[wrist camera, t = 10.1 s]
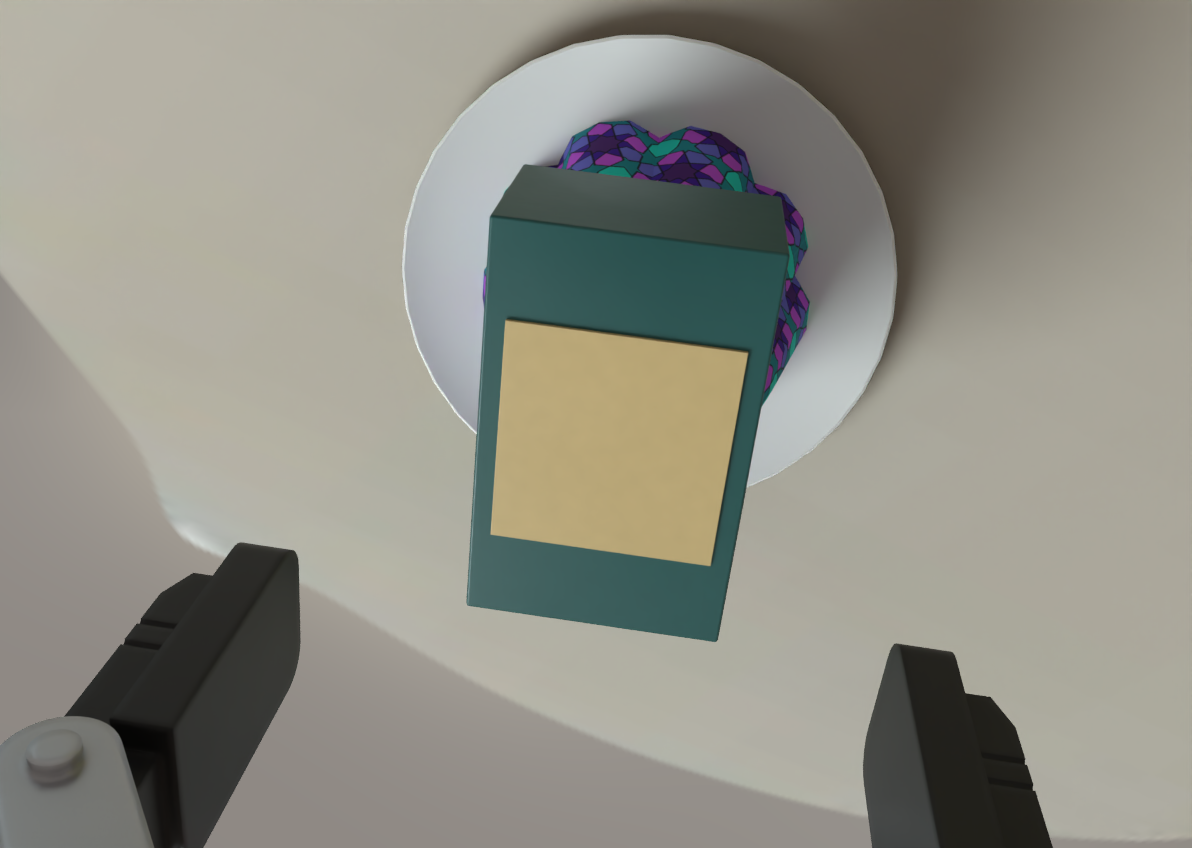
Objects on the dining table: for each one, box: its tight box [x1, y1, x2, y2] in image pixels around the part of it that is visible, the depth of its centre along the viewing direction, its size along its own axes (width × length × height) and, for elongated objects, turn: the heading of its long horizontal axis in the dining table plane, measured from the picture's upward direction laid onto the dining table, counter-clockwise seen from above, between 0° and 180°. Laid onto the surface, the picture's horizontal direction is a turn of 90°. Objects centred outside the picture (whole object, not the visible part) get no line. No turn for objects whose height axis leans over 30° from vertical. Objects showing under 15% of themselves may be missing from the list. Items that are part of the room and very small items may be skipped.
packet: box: [467, 164, 790, 642], centre depth 22 cm, size 5×8×4 cm, turn 174°
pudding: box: [402, 35, 898, 488], centre depth 26 cm, size 12×12×5 cm
